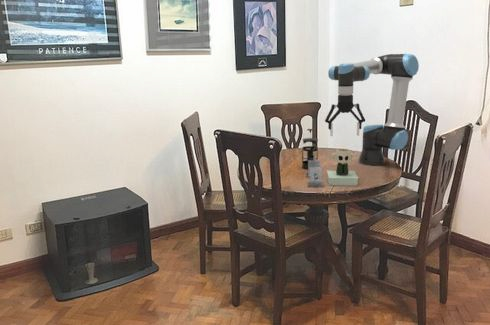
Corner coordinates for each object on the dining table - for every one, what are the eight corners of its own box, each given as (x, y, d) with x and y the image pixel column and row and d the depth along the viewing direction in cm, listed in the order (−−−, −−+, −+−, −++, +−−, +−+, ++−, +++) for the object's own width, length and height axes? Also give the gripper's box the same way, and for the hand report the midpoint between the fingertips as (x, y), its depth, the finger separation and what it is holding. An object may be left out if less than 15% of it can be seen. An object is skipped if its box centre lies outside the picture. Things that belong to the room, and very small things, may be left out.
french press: (316, 170, 260) (317, 130, 255) (300, 169, 263) (300, 130, 257) (319, 165, 271) (320, 127, 266) (303, 164, 274) (304, 127, 268)
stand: (353, 178, 243) (354, 170, 242) (358, 185, 229) (358, 178, 228) (326, 177, 244) (326, 170, 243) (328, 185, 230) (329, 177, 229)
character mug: (332, 176, 233) (333, 151, 230) (330, 172, 240) (331, 148, 237) (353, 176, 232) (354, 151, 229) (351, 172, 239) (352, 148, 236)
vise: (320, 174, 251) (320, 158, 249) (324, 187, 227) (324, 170, 225) (305, 174, 251) (306, 158, 249) (308, 187, 228) (308, 170, 225)
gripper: (369, 93, 233) (367, 133, 238) (320, 94, 234) (319, 134, 240) (372, 94, 225) (370, 136, 231) (321, 95, 227) (321, 137, 232)
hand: (344, 135), depth 235 cm, fingers open, 13 cm apart
